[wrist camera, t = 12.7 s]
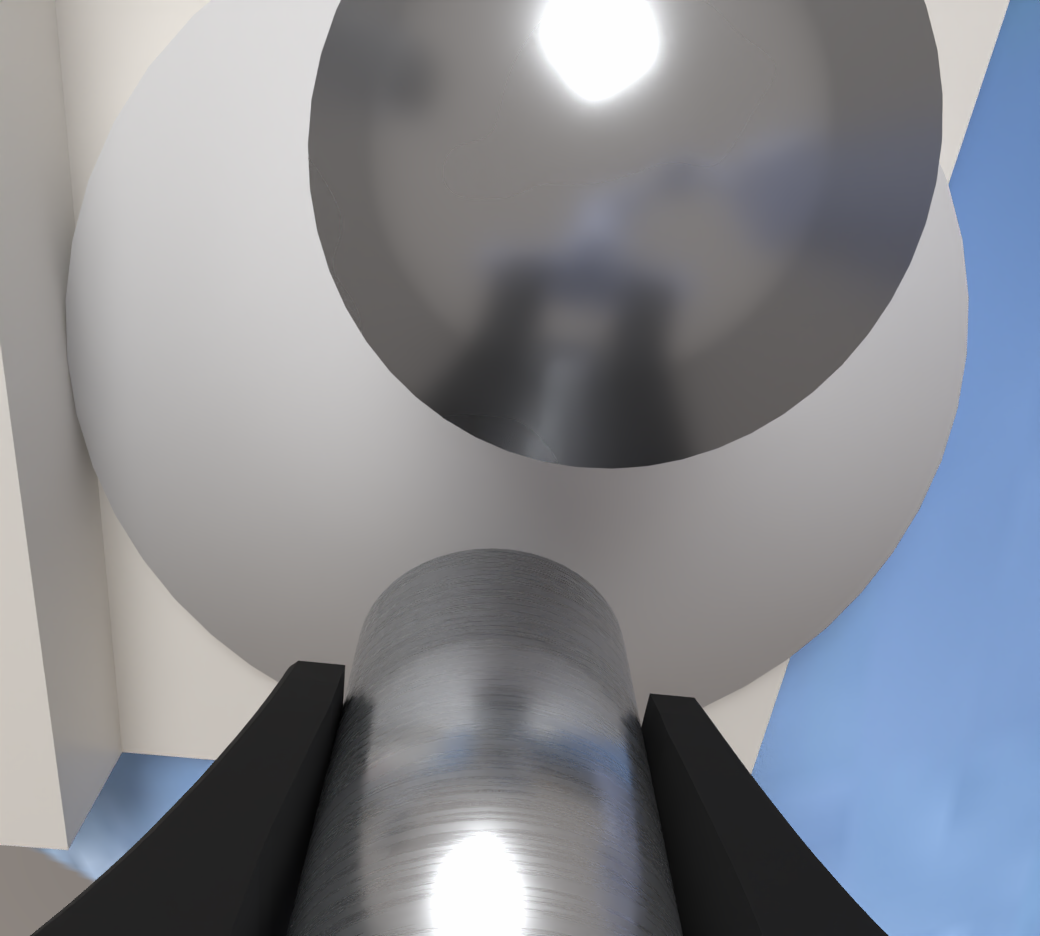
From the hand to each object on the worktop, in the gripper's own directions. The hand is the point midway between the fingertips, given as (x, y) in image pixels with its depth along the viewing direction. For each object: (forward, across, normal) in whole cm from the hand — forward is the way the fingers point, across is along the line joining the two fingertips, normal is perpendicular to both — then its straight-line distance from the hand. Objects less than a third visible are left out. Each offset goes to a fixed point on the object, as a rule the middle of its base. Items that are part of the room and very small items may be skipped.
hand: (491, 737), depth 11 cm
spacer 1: (+3, 0, -8) cm, 8 cm away
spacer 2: (+2, 0, 0) cm, 2 cm away
